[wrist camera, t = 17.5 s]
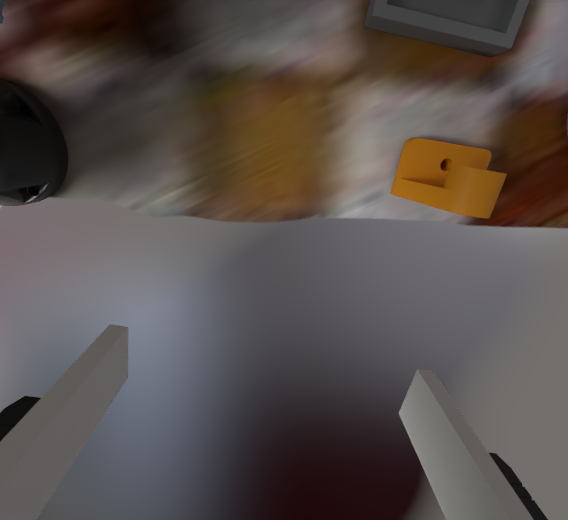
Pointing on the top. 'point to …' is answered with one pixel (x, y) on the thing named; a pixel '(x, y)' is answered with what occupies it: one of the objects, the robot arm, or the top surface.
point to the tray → (451, 22)
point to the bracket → (448, 177)
